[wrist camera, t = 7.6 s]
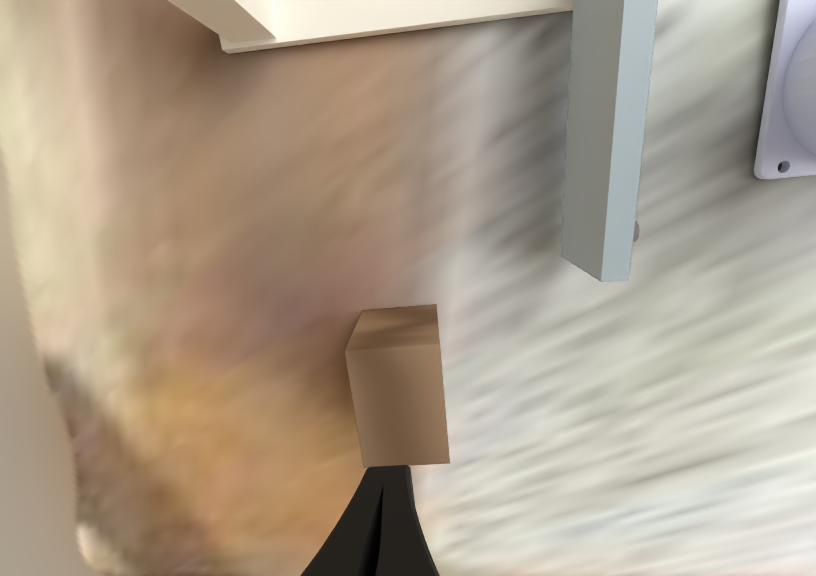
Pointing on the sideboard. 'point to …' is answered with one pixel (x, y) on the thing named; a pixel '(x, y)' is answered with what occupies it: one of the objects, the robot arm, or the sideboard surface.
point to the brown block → (398, 387)
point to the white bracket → (344, 18)
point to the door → (606, 132)
